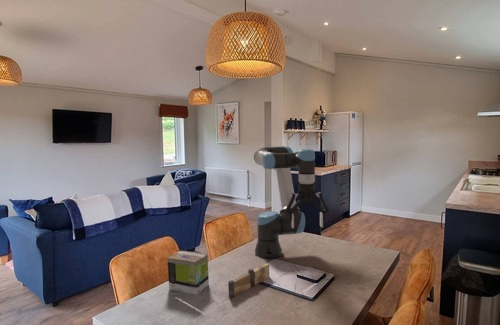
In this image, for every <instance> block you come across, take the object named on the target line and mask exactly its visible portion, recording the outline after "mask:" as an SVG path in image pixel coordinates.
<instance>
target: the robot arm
mask: <svg viewBox="0 0 500 325" xmlns="http://www.w3.org/2000/svg"><path fill="white" fill-rule="evenodd" d="M315 153H316V152H315V150H314V149H311V148H310V149H306V148H305V149H299V150H298V151H293V149H292V148H291V147H289V146H285V145H282V146H265V147H261V148H258V149H257V150H256V151H255V152H254V154H253V160H254V162H255V163H256V164H257V165H259V166H262V168H263V169H265V170H274V171H275V172H276V179H277V185H278V186H277V187H278V192H279V199H280V207H281V208H280V210H279V212H278V211H275V210H273V211H272V210H270V211H269V210H268V211H264V212H261V213H260V214H258V216H257V219H256V221H257V222H256V225H257V227H256V228H257V229H256V230H257V241H256V246H255V250H254V255H255V257H259V258H261V259H266V260H271V259H272V260H273V259H277V258H280V257H281V256H282V255H283V250H282V246H281V243H280V241H279V236H286V235H298V234H302V233H303V232H304V230H305V227H306V216H305V213H304V212H302V211H301V209H300V208H299V207H300V205H301V204H302V203H304V204H305V203H313V204H314V205H315V206H316V207H317V208H318V210H320V211H321V212H320V211H319V226H320V228H324V221H325V220H326V213H329V212H330V210H329V208H328V206H327V203H326V202H325V200H324V198H323V194H322V192H320V191H318V192H316V183H315V182H316V173H315V172H316V163H315V162H316V155H315ZM297 168H298V182H299V183H298V192H297V193H295V190H294V183H293V179H292V178H293V177H292V172H291V169H297ZM297 197H298V199H297ZM316 197H317V198H318V199H319V200H320V202H321V204H322V206H321V205H320V204H319V203H318V202H317V201H316V200H315V198H316ZM296 199H297V200H296Z"/></svg>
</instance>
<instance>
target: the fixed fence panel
mask: <svg viewBox="0 0 500 325" xmlns="http://www.w3.org/2000/svg"><path fill="white" fill-rule="evenodd" d="M227 288H228V298H229V299H234V298H235V297H236V296H238V295H240V294H242V293H244V292H245V291H248V289H250V288H252V287H251V285H250V274H248V272H247V273H246V272H245V273H244V274H243V275H240V276H238V277H236V278H234V279H232V280H229V281H228V287H227Z"/></svg>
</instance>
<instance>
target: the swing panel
mask: <svg viewBox="0 0 500 325" xmlns="http://www.w3.org/2000/svg"><path fill="white" fill-rule="evenodd" d="M247 273H248V274H250V285H251V287H250V288H252V287H254V286H256V285H257V284H258V285H259V283H261V282H262V281H265V280H267V279H268V278H270V264H269V263H266V262H265V263H263V264H262V265H260V266H258V267H255V268H254V269H253V268H249V269H248V270H247Z"/></svg>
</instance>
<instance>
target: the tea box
mask: <svg viewBox="0 0 500 325" xmlns="http://www.w3.org/2000/svg"><path fill="white" fill-rule="evenodd" d="M208 260H209V259H208V254H206V253H200V252H193V251H186V250H180V251H178V252H176V253H174V254H172V255H170V256H169V257H167V274H168V276H167V277H168V289H169V290H170V291H175V292H181V293H182V292H183V293H187V294H192V295H195V296H197V295H198V294H200V293H201V292H202V291H203V290H204V289H206V288H207V287H209V285H210V284H209V283H210V282H209V280H210V279H209V276H210V275H209V261H208Z"/></svg>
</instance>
